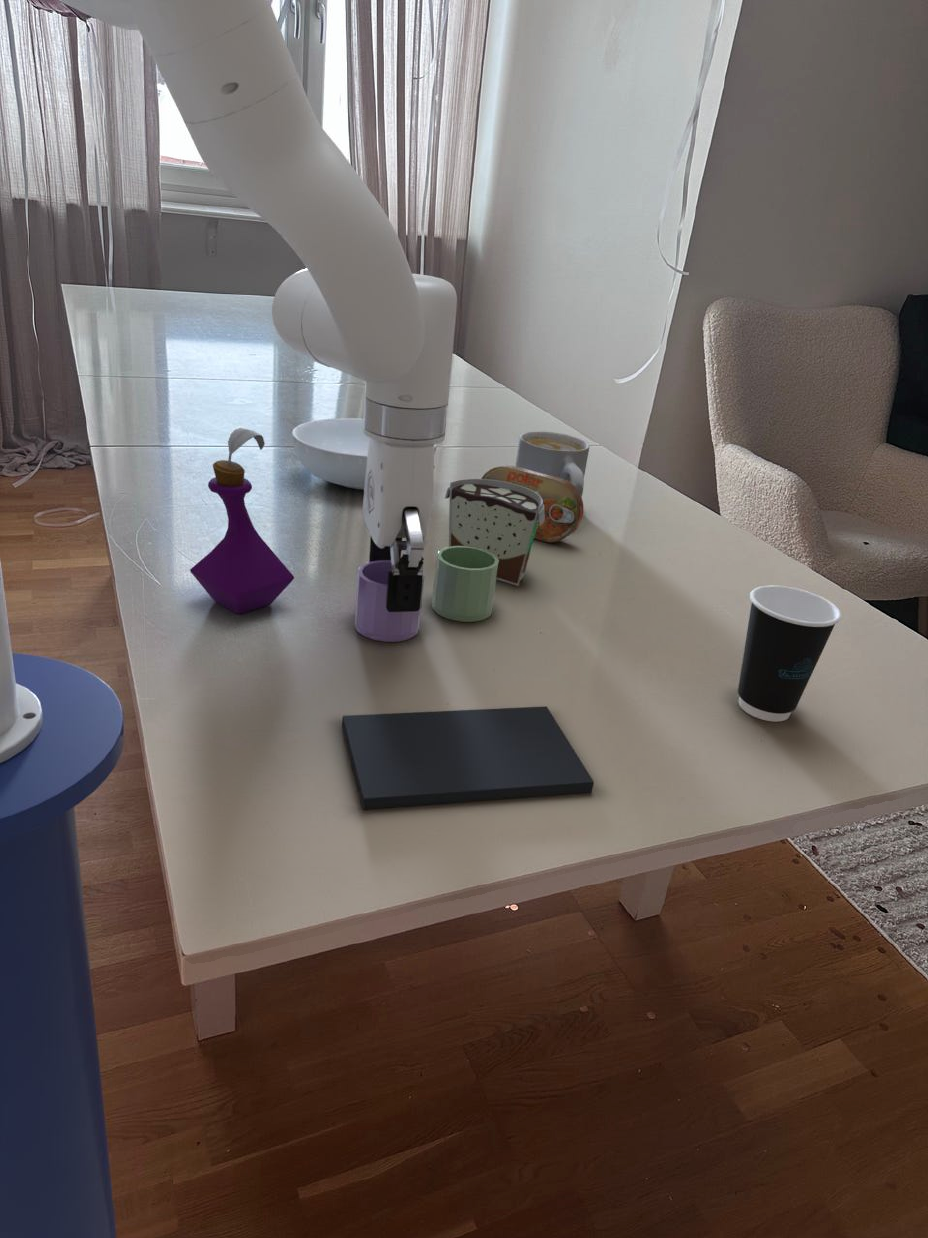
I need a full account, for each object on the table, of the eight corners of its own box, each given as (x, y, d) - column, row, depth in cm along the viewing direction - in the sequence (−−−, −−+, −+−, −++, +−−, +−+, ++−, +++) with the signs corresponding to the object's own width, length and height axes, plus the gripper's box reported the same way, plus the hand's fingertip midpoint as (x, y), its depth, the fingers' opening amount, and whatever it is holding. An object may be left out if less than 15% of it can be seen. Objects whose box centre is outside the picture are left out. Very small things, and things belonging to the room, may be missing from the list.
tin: (472, 519, 123) (479, 460, 119) (483, 514, 125) (491, 455, 121) (570, 550, 116) (581, 488, 112) (580, 544, 119) (591, 483, 115)
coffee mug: (503, 495, 134) (512, 429, 129) (565, 497, 136) (576, 433, 132) (526, 527, 122) (537, 456, 118) (594, 529, 125) (607, 460, 120)
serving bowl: (385, 455, 146) (388, 413, 143) (460, 496, 131) (465, 450, 128) (266, 465, 134) (267, 419, 131) (334, 511, 119) (336, 461, 116)
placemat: (362, 809, 65) (363, 798, 64) (341, 725, 74) (342, 715, 74) (592, 792, 70) (594, 782, 69) (545, 715, 79) (546, 706, 79)
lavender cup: (359, 642, 87) (363, 587, 85) (350, 613, 93) (353, 559, 90) (424, 641, 89) (430, 586, 86) (411, 612, 95) (416, 560, 92)
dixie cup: (739, 677, 90) (768, 577, 85) (818, 709, 86) (852, 605, 81) (708, 706, 84) (737, 600, 79) (791, 741, 80) (826, 632, 75)
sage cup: (439, 622, 93) (445, 569, 91) (426, 595, 99) (431, 545, 96) (498, 621, 95) (506, 569, 92) (482, 595, 100) (488, 545, 98)
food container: (550, 574, 108) (564, 495, 104) (530, 590, 103) (543, 508, 99) (461, 546, 113) (470, 470, 109) (437, 561, 108) (446, 481, 104)
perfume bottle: (234, 625, 87) (234, 445, 80) (189, 599, 92) (185, 425, 84) (294, 606, 93) (300, 435, 85) (249, 581, 97) (250, 416, 89)
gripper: (350, 394, 88) (343, 554, 96) (381, 445, 73) (370, 630, 81) (424, 397, 90) (412, 553, 98) (469, 447, 75) (450, 627, 83)
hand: (393, 588), depth 89 cm, fingers open, 9 cm apart
